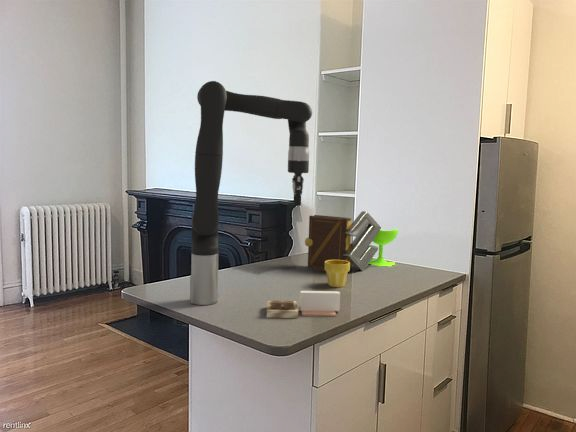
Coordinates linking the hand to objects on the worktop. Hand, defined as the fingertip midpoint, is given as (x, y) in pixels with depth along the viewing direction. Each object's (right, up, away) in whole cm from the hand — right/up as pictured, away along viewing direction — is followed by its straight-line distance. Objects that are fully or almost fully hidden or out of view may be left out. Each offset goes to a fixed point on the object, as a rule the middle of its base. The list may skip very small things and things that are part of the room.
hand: (297, 204), depth 178 cm
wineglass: (+43, -29, +68) cm, 86 cm away
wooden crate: (+14, -30, +51) cm, 61 cm away
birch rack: (-5, -36, -17) cm, 40 cm away
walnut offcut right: (-3, -35, -19) cm, 40 cm away
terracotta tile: (+7, -36, -14) cm, 39 cm away
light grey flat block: (+14, -33, -14) cm, 38 cm away
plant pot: (+16, -33, +22) cm, 43 cm away
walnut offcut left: (-7, -35, -19) cm, 41 cm away
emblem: (+30, -30, +52) cm, 67 cm away
